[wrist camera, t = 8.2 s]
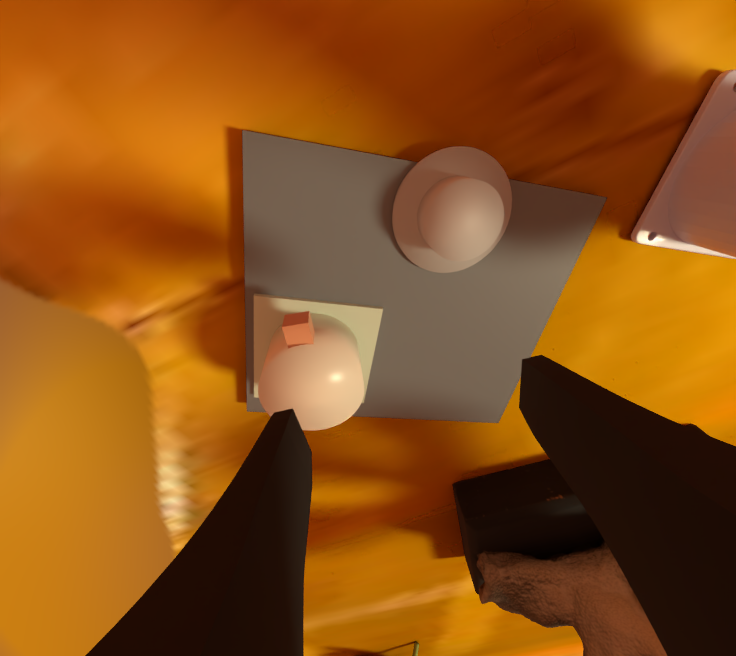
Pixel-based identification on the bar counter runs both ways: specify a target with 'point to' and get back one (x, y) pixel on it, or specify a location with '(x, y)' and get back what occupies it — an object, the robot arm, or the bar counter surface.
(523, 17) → the bar counter surface
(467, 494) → the driftwood sculpture
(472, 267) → the board
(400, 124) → the bar counter surface
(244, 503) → the robot arm
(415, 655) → the water lily
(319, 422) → the domed cylinder with nub
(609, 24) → the bar counter surface
